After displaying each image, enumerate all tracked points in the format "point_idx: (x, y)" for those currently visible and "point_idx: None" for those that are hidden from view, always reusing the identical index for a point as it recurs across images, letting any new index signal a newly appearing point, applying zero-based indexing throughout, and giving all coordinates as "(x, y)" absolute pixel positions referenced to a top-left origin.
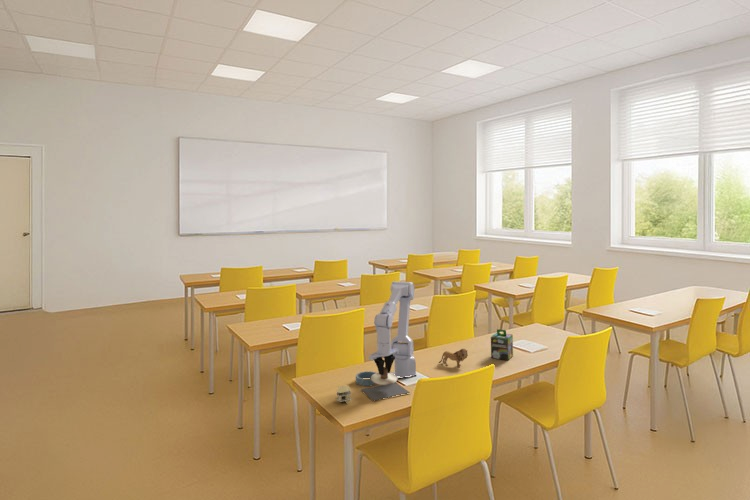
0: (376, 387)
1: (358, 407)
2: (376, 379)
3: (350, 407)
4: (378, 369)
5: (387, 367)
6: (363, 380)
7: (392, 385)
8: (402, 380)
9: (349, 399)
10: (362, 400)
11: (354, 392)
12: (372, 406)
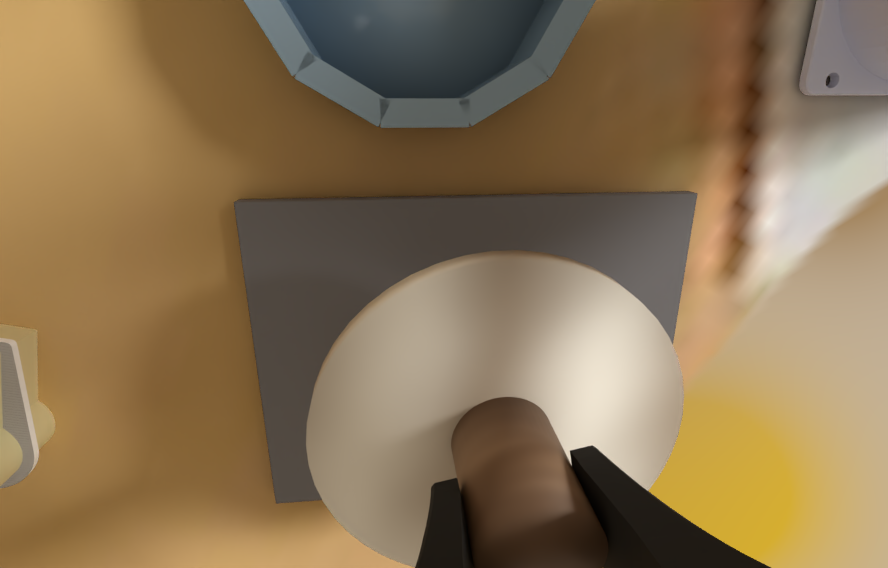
0: (432, 237)
1: (113, 545)
2: (369, 465)
3: (36, 524)
4: (427, 548)
5: (614, 553)
6: (303, 82)
7: (615, 262)
8: (805, 137)
9: (9, 483)
10: (188, 436)
11: (151, 216)
12: (241, 564)
